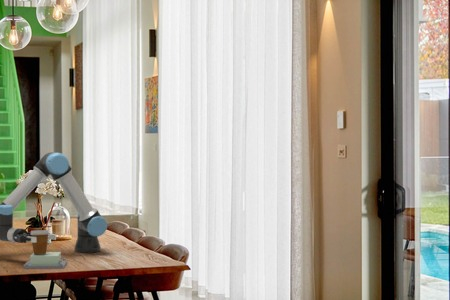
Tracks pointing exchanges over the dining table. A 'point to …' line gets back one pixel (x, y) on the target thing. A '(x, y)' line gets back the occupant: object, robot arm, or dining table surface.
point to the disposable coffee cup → (40, 241)
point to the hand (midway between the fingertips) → (45, 238)
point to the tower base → (61, 265)
